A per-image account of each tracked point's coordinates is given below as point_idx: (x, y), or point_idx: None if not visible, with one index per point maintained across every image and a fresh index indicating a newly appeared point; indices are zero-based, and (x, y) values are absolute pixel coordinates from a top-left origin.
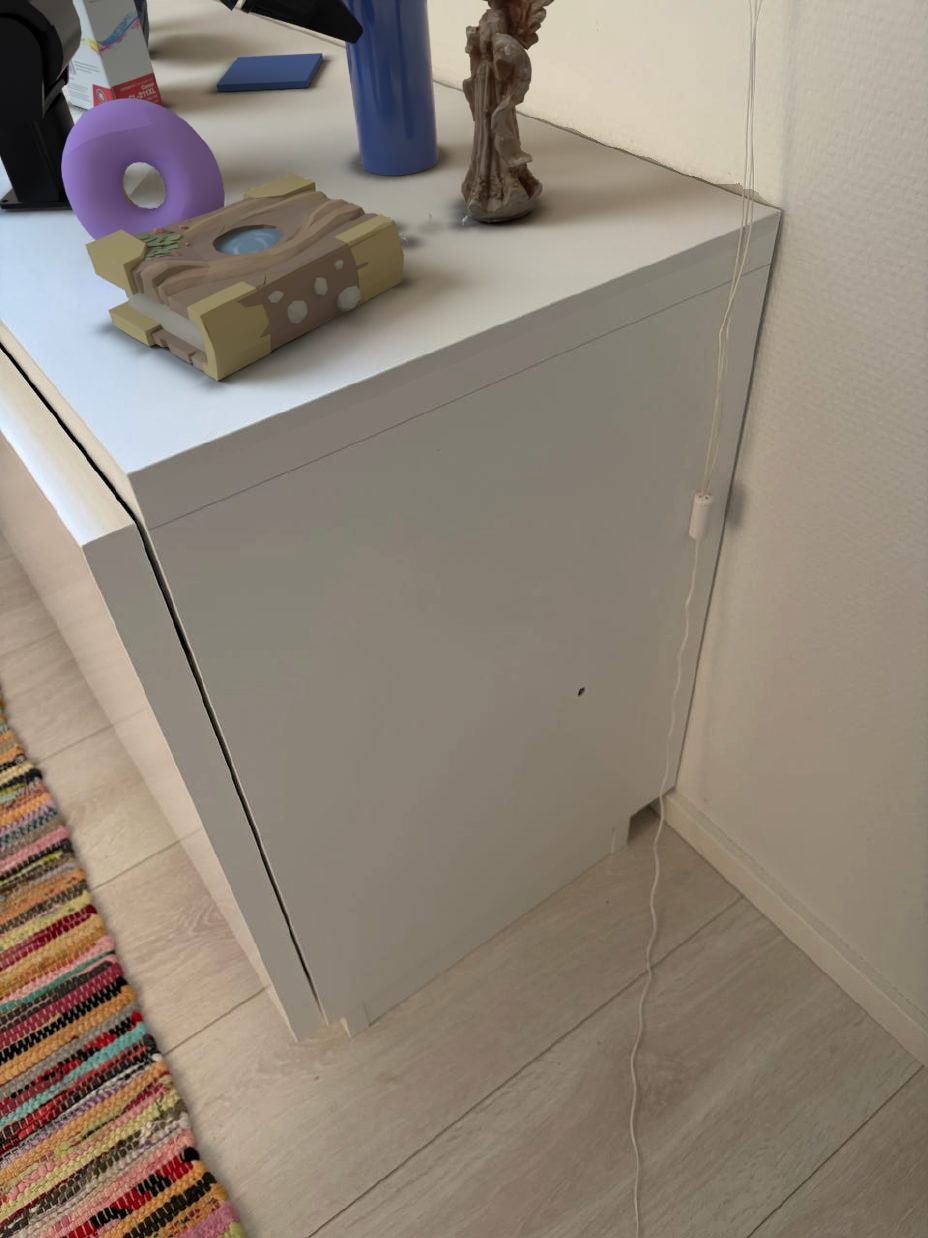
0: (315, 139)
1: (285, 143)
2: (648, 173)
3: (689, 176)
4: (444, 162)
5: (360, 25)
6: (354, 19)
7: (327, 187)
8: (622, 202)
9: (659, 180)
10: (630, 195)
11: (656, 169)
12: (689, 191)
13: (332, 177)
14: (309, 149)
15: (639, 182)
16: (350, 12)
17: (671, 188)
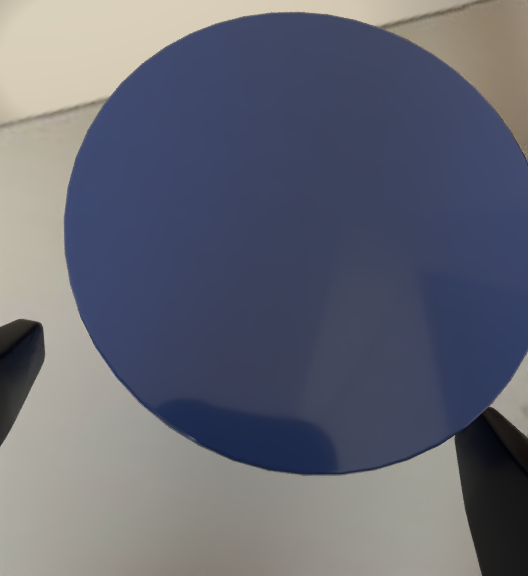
0: (44, 486)
1: (32, 558)
2: (441, 39)
3: (466, 4)
4: None
5: (498, 414)
6: (524, 436)
7: (316, 502)
8: (520, 104)
9: (467, 38)
10: (502, 87)
11: (431, 26)
12: (511, 25)
13: (272, 484)
14: (98, 508)
15: (465, 61)
16: (524, 447)
17: (496, 38)
